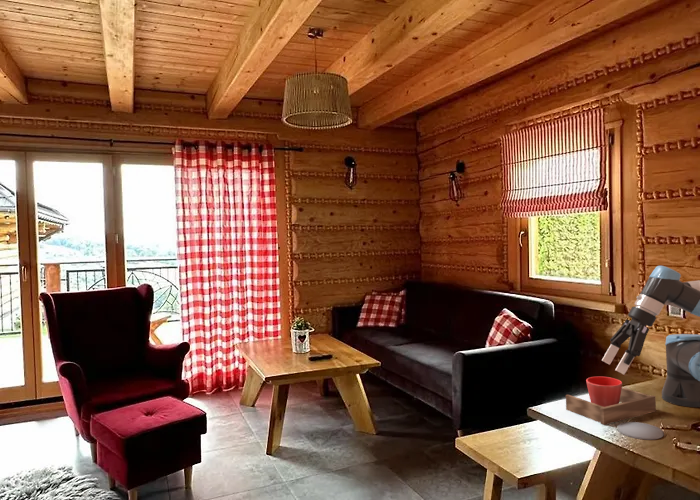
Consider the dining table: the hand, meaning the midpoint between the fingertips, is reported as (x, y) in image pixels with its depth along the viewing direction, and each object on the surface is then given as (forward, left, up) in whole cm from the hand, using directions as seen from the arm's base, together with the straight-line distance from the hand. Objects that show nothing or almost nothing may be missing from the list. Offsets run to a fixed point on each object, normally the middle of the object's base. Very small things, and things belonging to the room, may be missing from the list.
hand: (612, 367), depth 165 cm
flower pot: (+1, -5, -16) cm, 17 cm away
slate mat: (-2, +15, -16) cm, 21 cm away
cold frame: (0, -3, -16) cm, 16 cm away
